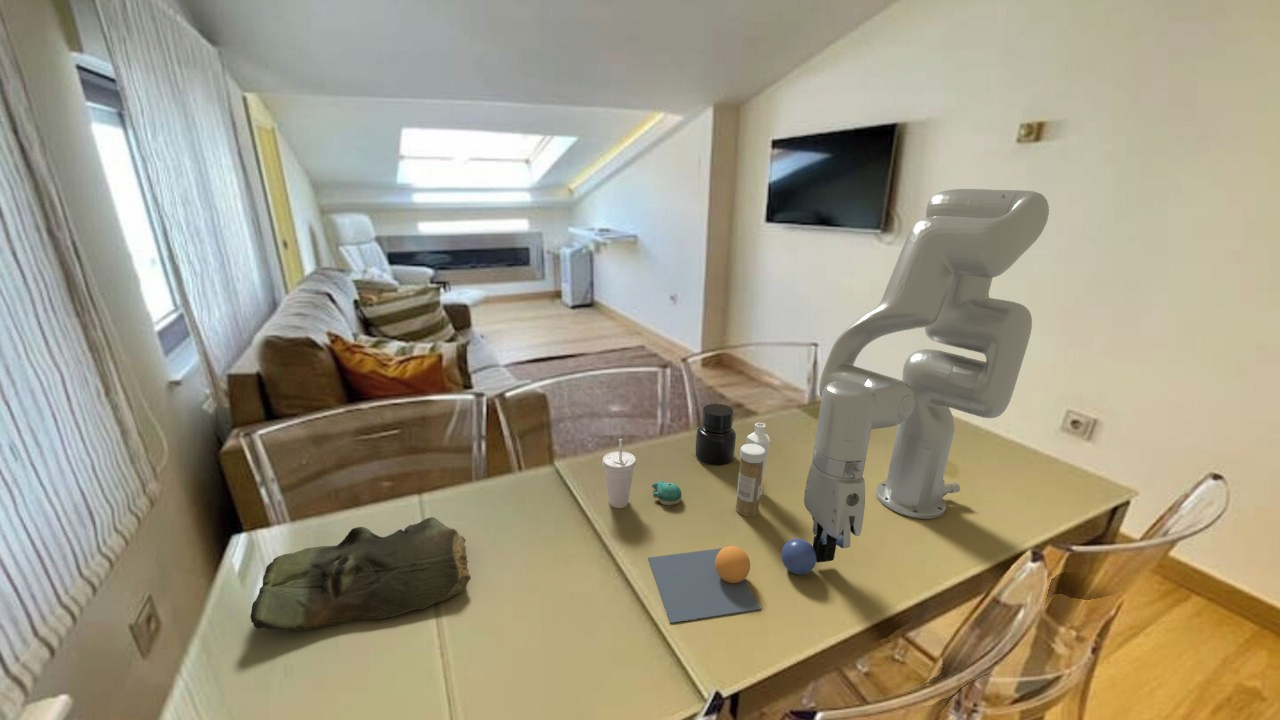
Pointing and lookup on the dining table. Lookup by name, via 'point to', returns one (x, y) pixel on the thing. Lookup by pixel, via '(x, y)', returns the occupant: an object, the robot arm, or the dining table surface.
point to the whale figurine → (667, 493)
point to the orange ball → (732, 564)
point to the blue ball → (798, 556)
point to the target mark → (698, 587)
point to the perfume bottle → (760, 442)
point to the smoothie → (619, 476)
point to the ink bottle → (716, 435)
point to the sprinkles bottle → (750, 479)
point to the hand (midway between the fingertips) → (822, 558)
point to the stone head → (362, 578)
